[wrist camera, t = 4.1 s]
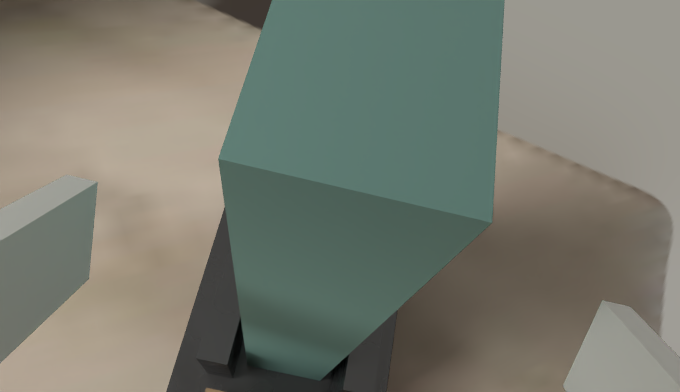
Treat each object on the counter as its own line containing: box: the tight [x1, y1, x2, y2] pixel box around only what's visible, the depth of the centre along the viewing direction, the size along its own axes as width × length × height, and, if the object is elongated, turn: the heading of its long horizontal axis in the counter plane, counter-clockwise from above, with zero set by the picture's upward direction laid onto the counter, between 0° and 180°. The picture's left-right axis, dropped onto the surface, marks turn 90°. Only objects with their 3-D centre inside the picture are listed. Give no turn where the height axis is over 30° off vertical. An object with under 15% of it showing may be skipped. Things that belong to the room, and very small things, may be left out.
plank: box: [218, 0, 504, 381], centre depth 17 cm, size 7×4×20 cm, turn 169°
